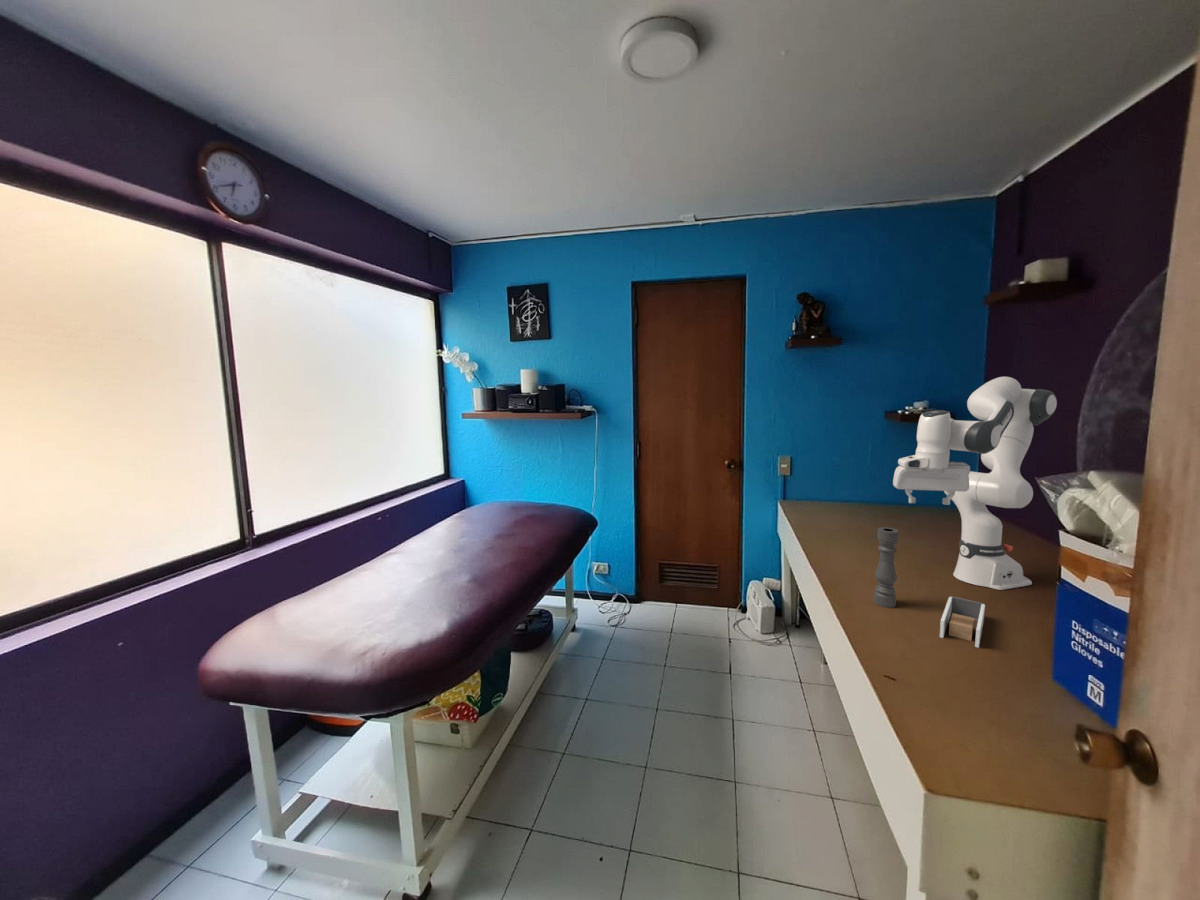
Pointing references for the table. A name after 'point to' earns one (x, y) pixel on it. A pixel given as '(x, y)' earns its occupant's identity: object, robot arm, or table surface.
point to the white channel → (964, 614)
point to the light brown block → (961, 627)
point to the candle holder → (886, 568)
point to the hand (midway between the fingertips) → (928, 503)
